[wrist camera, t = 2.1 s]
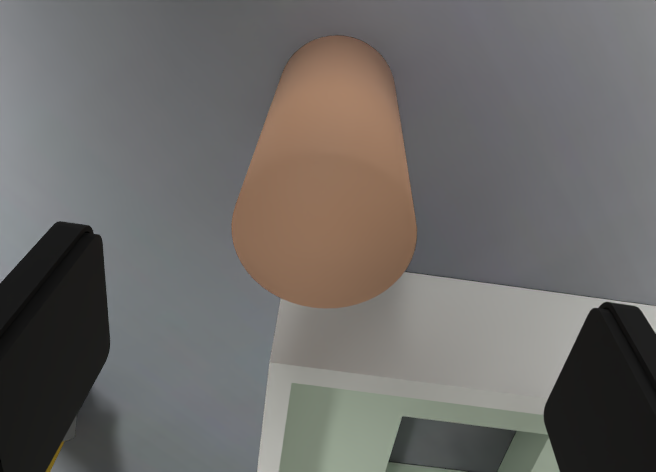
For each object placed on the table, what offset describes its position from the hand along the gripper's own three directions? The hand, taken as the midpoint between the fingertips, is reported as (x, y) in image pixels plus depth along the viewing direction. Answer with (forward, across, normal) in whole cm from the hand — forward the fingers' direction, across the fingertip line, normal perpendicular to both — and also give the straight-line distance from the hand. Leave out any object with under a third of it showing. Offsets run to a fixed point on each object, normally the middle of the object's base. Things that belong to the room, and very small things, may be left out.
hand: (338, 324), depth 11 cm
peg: (+11, +1, -1) cm, 11 cm away
